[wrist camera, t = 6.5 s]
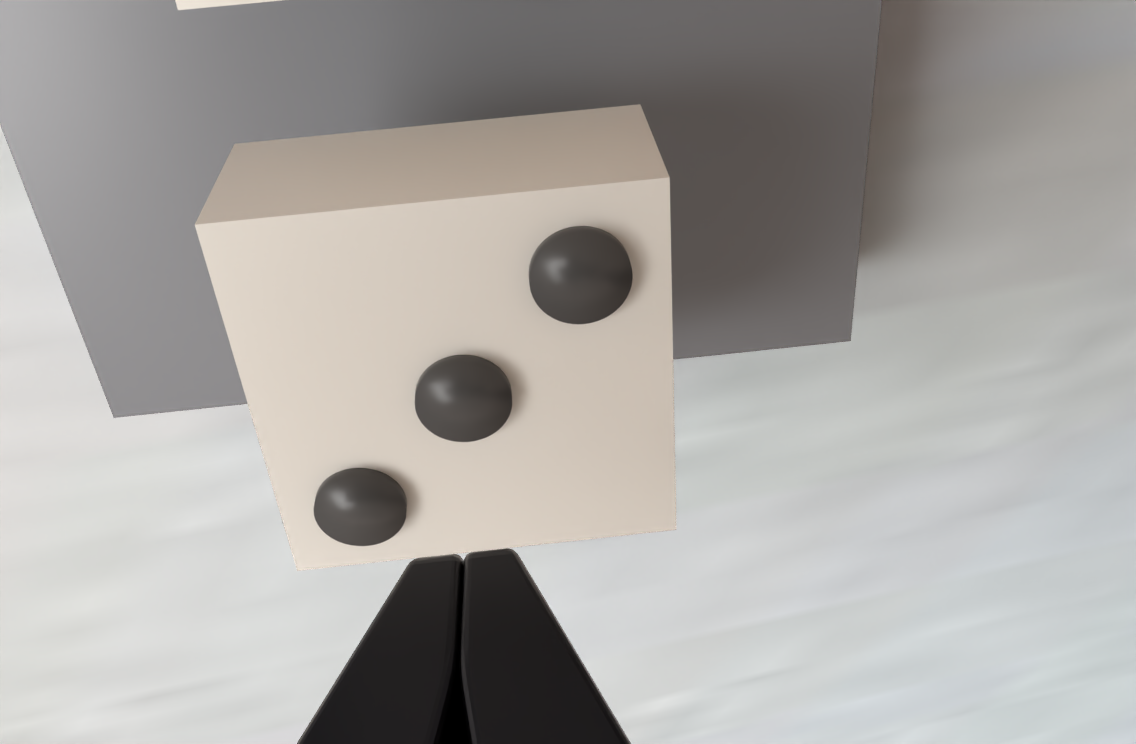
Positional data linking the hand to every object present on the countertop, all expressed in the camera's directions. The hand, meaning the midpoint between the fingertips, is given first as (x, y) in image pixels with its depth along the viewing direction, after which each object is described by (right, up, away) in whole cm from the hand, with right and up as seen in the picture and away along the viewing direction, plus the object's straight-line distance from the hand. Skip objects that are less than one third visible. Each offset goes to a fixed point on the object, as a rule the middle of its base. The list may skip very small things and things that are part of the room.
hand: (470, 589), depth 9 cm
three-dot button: (0, +3, +4) cm, 5 cm away
